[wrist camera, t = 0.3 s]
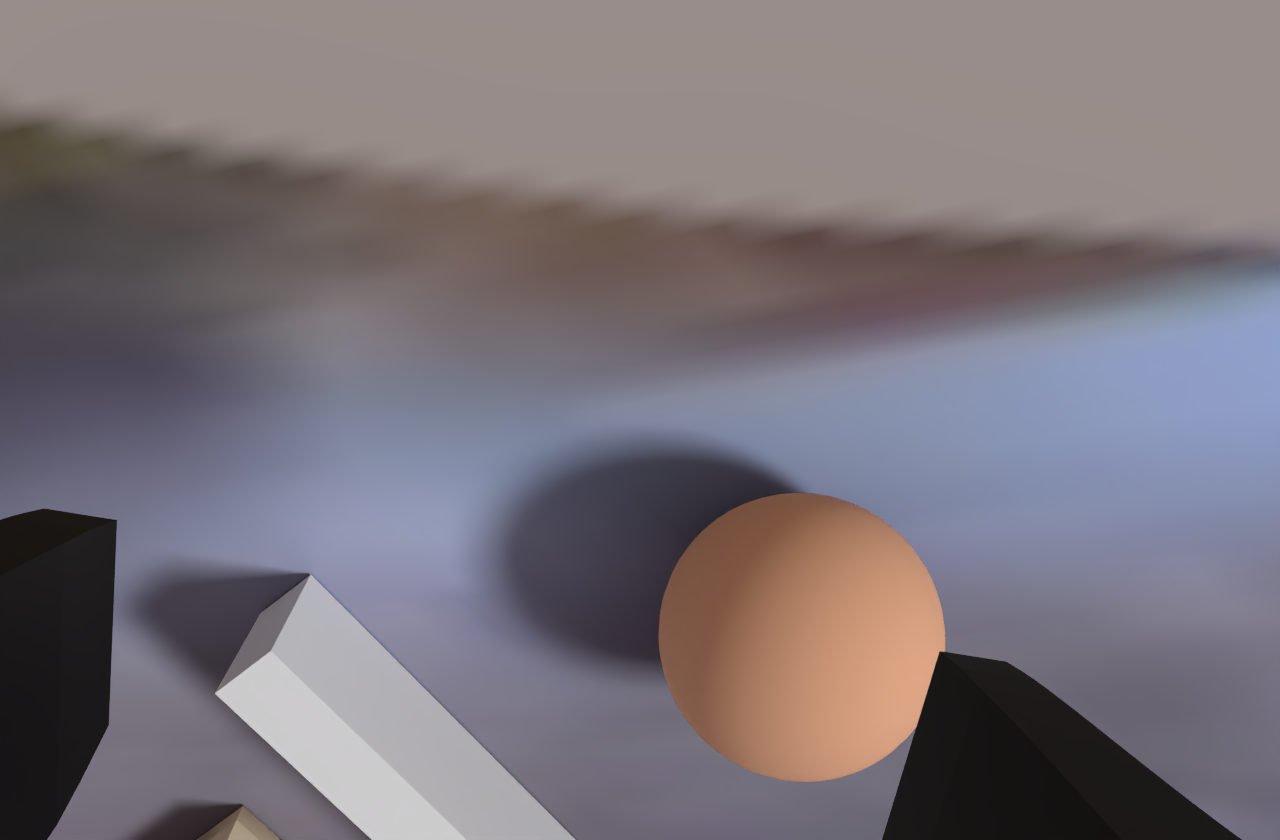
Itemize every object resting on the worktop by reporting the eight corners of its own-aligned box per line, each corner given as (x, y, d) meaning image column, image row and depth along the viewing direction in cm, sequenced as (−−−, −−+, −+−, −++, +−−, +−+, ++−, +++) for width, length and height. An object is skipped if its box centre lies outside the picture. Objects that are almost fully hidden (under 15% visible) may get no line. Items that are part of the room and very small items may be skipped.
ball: (957, 586, 21) (1040, 735, 17) (755, 721, 22) (785, 895, 18) (811, 399, 20) (861, 511, 16) (602, 551, 21) (597, 694, 16)
